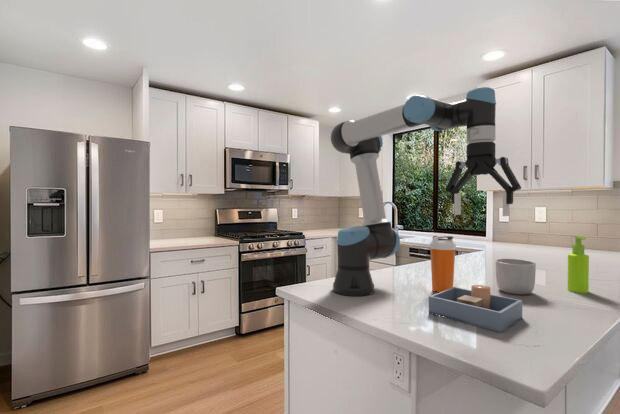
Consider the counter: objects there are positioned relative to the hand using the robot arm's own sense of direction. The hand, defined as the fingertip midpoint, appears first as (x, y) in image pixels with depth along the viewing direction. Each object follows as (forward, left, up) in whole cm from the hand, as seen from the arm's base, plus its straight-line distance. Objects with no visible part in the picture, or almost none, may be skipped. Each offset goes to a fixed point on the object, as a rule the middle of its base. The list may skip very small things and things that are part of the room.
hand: (480, 215), depth 98 cm
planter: (-1, +32, -29) cm, 43 cm away
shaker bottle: (-19, +14, -29) cm, 37 cm away
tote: (0, -4, -29) cm, 29 cm away
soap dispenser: (+14, +49, -29) cm, 59 cm away
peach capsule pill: (0, 0, -28) cm, 28 cm away
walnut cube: (0, -7, -28) cm, 29 cm away
